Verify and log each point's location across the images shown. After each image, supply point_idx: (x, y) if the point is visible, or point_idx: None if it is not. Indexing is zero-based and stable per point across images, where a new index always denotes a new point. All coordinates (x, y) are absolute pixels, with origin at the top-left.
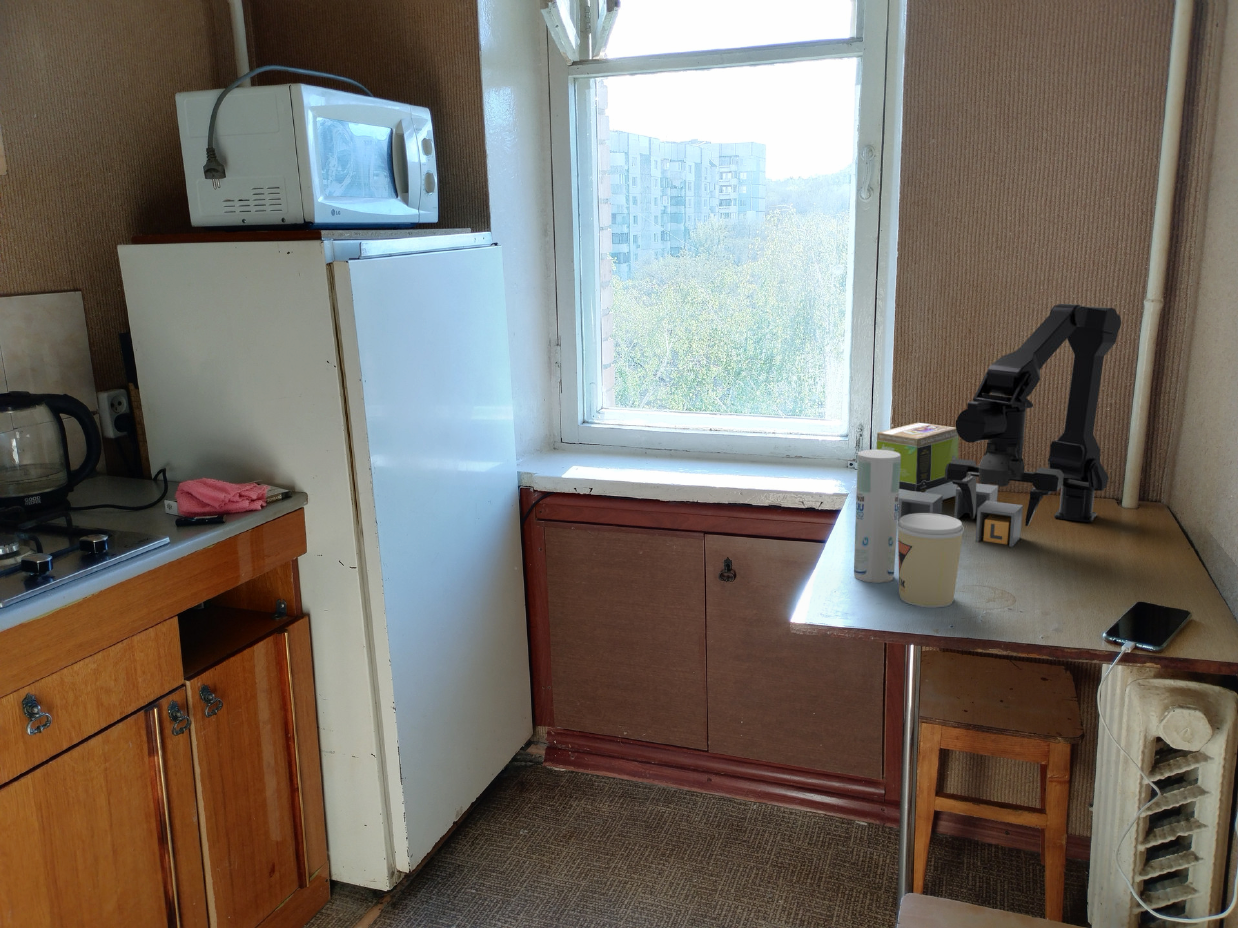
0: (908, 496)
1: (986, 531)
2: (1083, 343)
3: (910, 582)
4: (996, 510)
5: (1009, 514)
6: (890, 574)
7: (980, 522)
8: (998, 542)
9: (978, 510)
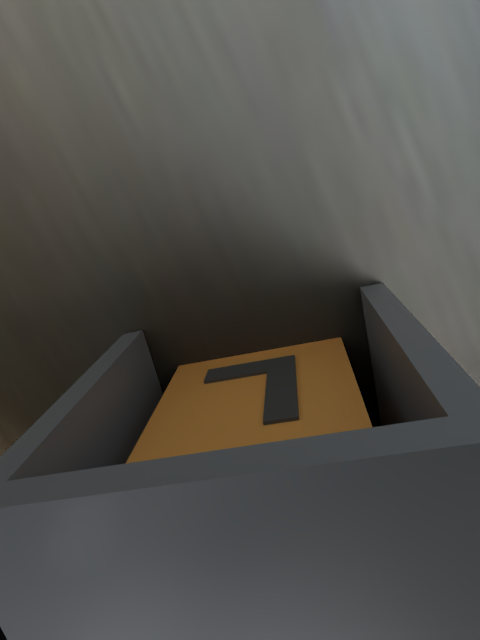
0: None
1: (330, 371)
2: None
3: None
4: (211, 508)
5: (20, 485)
6: None
7: (402, 377)
8: (234, 356)
9: None
